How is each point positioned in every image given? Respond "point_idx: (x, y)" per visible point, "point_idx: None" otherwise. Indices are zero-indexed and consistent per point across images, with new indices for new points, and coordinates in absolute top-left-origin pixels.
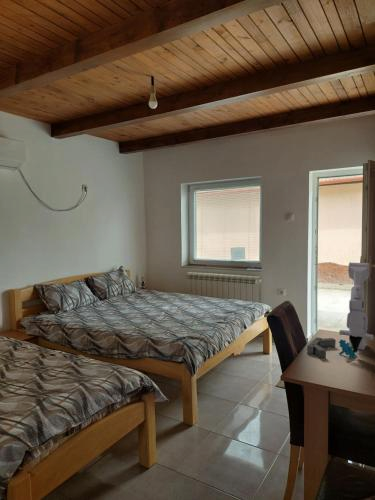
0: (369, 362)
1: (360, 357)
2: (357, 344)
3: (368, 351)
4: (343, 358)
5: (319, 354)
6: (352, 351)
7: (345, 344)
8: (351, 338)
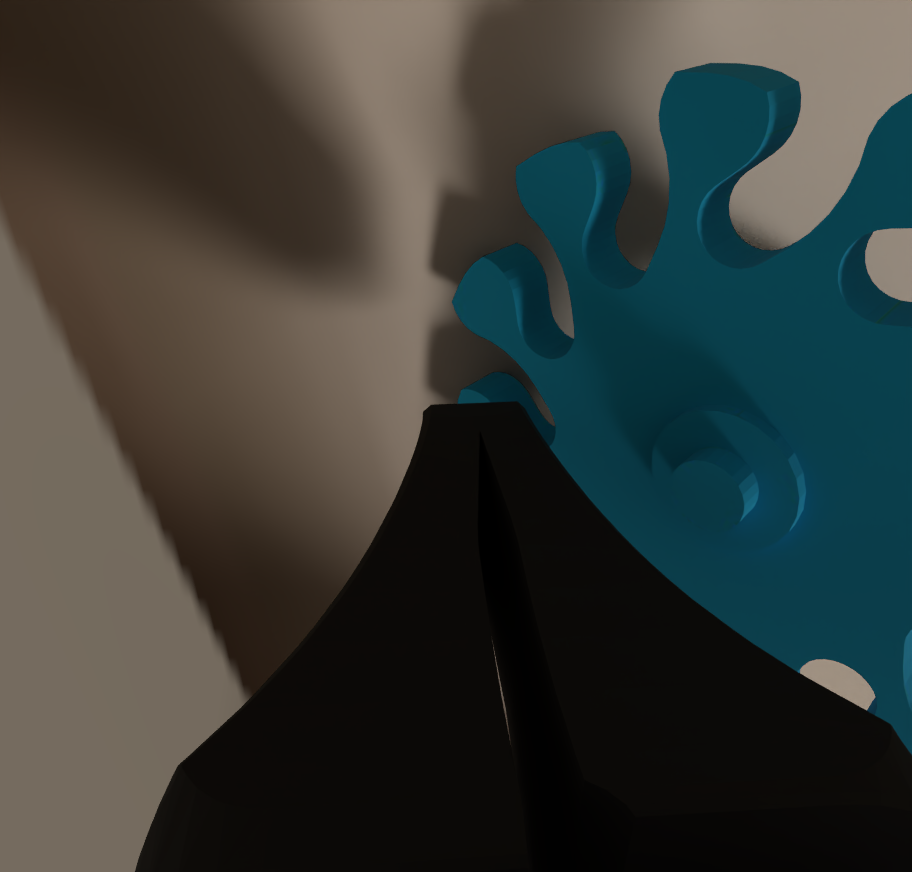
0: (20, 203)
1: (352, 429)
2: (385, 595)
3: None
4: (767, 67)
5: None
6: None
7: (858, 588)
8: (803, 816)
